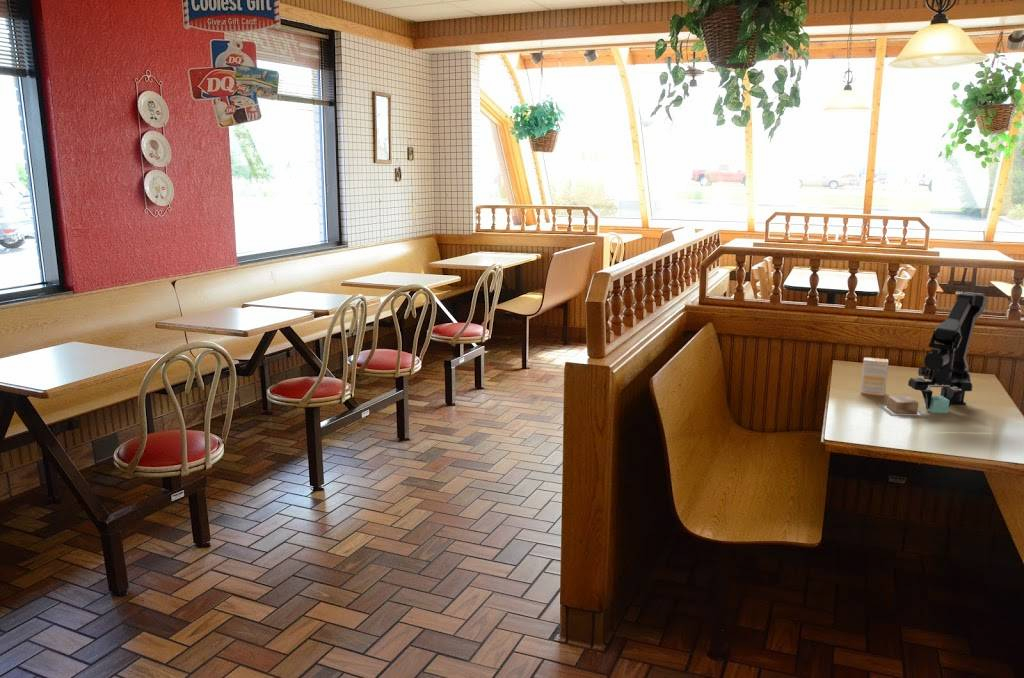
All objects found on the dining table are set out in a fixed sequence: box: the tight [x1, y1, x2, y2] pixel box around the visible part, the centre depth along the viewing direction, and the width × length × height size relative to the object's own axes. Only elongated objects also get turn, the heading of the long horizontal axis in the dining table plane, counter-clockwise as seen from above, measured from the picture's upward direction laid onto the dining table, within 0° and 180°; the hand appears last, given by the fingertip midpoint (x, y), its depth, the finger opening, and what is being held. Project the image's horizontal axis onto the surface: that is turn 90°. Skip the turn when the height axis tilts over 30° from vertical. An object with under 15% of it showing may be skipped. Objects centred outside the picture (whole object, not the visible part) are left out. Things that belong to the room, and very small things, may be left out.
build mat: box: [876, 404, 928, 418], centre depth 268 cm, size 12×12×1 cm
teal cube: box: [925, 395, 950, 414], centre depth 268 cm, size 5×5×5 cm
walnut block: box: [886, 395, 919, 414], centre depth 268 cm, size 7×7×4 cm
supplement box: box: [860, 356, 889, 397], centre depth 286 cm, size 8×5×13 cm, turn 65°
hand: (936, 408), depth 269 cm, fingers open, 6 cm apart
